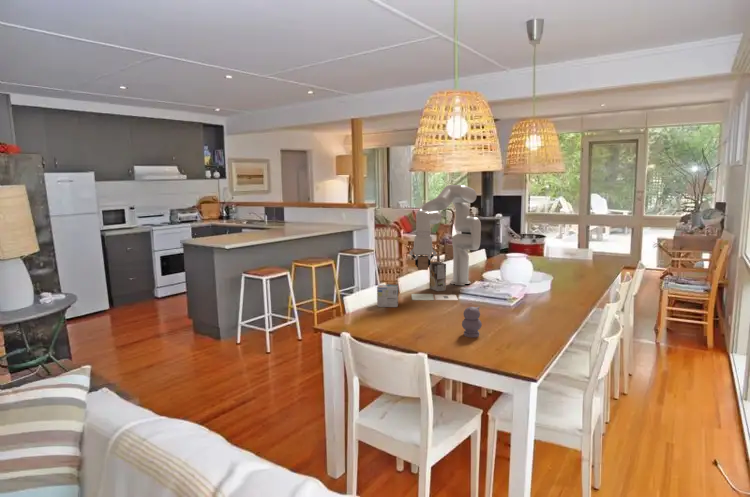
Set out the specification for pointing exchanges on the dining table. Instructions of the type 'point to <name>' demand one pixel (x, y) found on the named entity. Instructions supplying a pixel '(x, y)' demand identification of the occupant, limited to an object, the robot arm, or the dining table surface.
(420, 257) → the walnut block
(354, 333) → the dining table surface
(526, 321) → the dining table surface
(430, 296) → the sage mat
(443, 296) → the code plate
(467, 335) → the cat figurine
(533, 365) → the dining table surface
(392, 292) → the light bulb box
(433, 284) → the coffee box
